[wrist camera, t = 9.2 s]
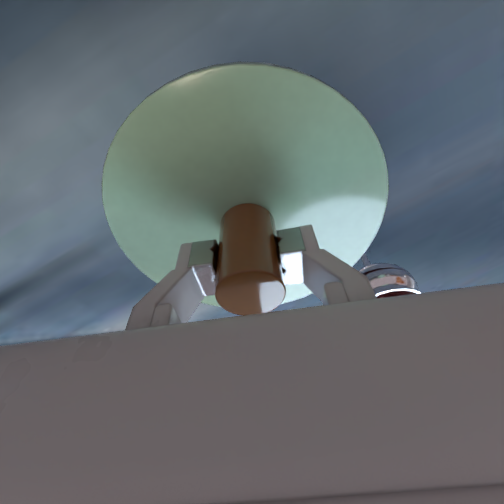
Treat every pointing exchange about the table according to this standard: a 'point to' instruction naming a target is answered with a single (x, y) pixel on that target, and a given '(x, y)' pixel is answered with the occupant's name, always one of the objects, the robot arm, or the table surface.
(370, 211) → the lid
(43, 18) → the table surface
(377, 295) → the wineglass
